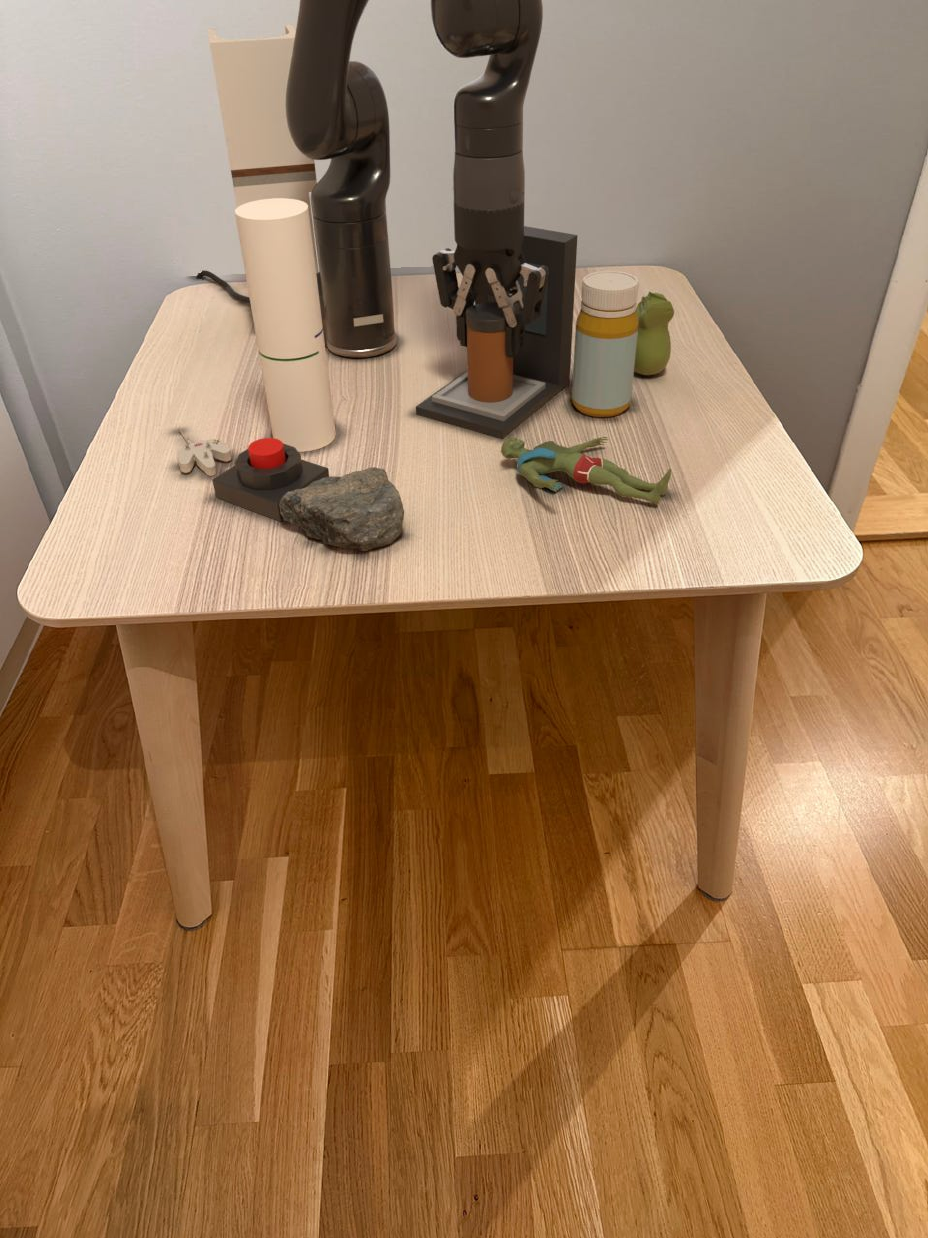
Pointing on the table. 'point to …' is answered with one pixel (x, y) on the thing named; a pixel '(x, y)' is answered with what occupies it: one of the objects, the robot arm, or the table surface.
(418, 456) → the table surface
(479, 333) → the orange canister with lid
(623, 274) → the bottle
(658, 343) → the pear
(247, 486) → the control block
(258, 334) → the cylindrical container
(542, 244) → the coffee maker
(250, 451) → the button
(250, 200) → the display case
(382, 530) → the rock
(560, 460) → the figurine
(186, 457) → the game controller
